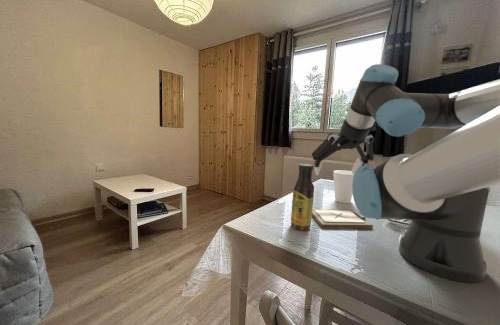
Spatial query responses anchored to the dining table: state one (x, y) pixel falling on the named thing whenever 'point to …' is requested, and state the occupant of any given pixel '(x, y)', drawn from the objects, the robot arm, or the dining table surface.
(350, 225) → the wooden board
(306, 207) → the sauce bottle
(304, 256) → the dining table surface
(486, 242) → the dining table surface
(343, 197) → the foam cup
